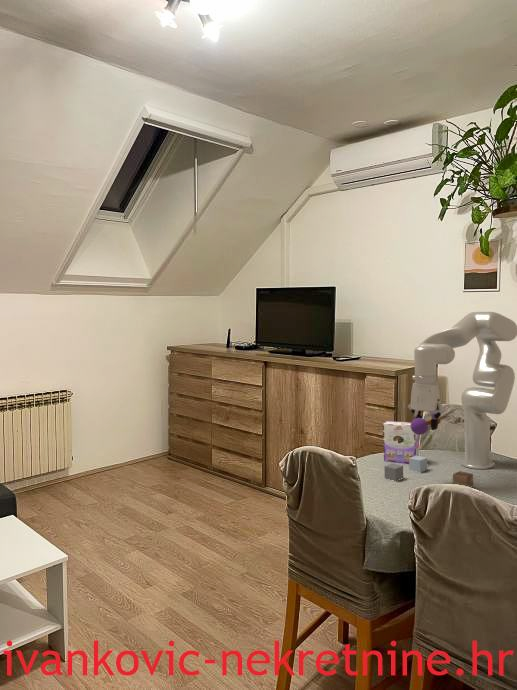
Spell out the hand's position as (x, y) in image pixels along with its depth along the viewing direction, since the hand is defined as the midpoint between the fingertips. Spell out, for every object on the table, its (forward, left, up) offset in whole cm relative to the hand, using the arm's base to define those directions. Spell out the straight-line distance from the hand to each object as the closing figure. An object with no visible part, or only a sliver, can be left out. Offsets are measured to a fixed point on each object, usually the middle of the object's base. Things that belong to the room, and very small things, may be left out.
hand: (426, 427), depth 205 cm
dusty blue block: (-11, -11, -21) cm, 26 cm away
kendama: (0, 0, -1) cm, 1 cm away
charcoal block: (+4, -12, -21) cm, 24 cm away
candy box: (-17, -23, -21) cm, 35 cm away
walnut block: (-4, +12, -21) cm, 24 cm away
